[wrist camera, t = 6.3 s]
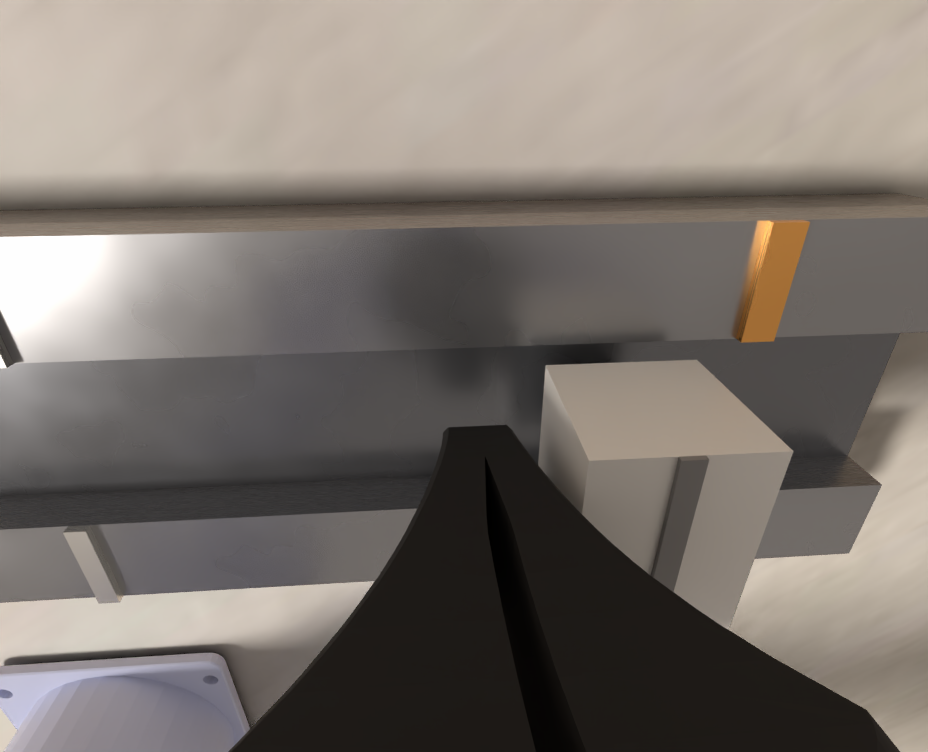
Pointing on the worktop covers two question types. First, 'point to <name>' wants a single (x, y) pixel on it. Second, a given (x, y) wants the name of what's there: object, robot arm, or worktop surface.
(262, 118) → the worktop surface
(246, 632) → the worktop surface
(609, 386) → the fader knob
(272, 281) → the grey slider rail
